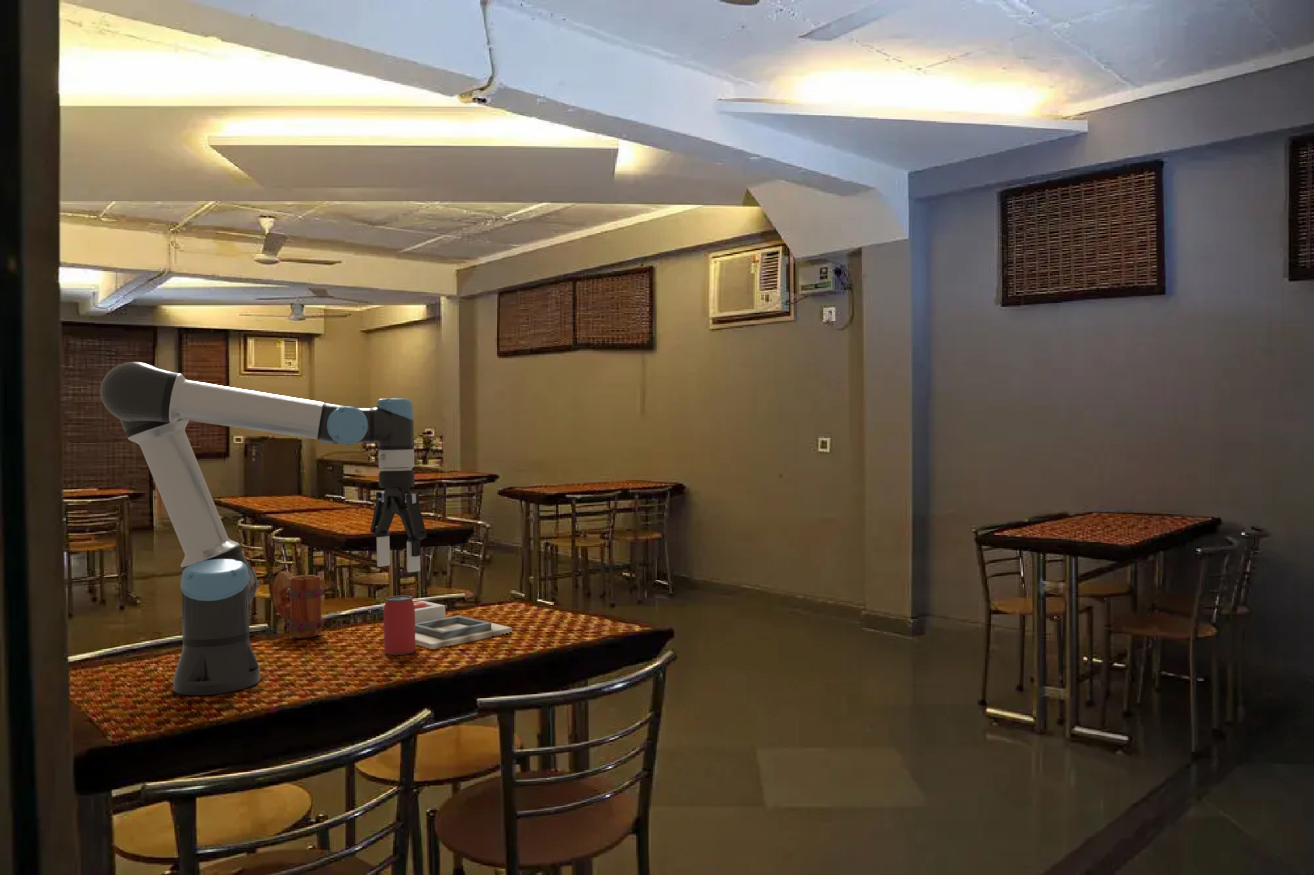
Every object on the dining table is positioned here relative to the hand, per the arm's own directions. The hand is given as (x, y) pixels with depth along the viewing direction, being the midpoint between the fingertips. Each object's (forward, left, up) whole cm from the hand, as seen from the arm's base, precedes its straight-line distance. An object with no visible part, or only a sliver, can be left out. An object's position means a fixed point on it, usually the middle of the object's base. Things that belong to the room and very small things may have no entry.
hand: (398, 568), depth 203 cm
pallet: (+17, +6, -18) cm, 26 cm away
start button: (+17, +21, -16) cm, 32 cm away
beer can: (0, 0, -19) cm, 19 cm away
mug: (-7, +34, -19) cm, 39 cm away
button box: (+17, +21, -18) cm, 33 cm away
